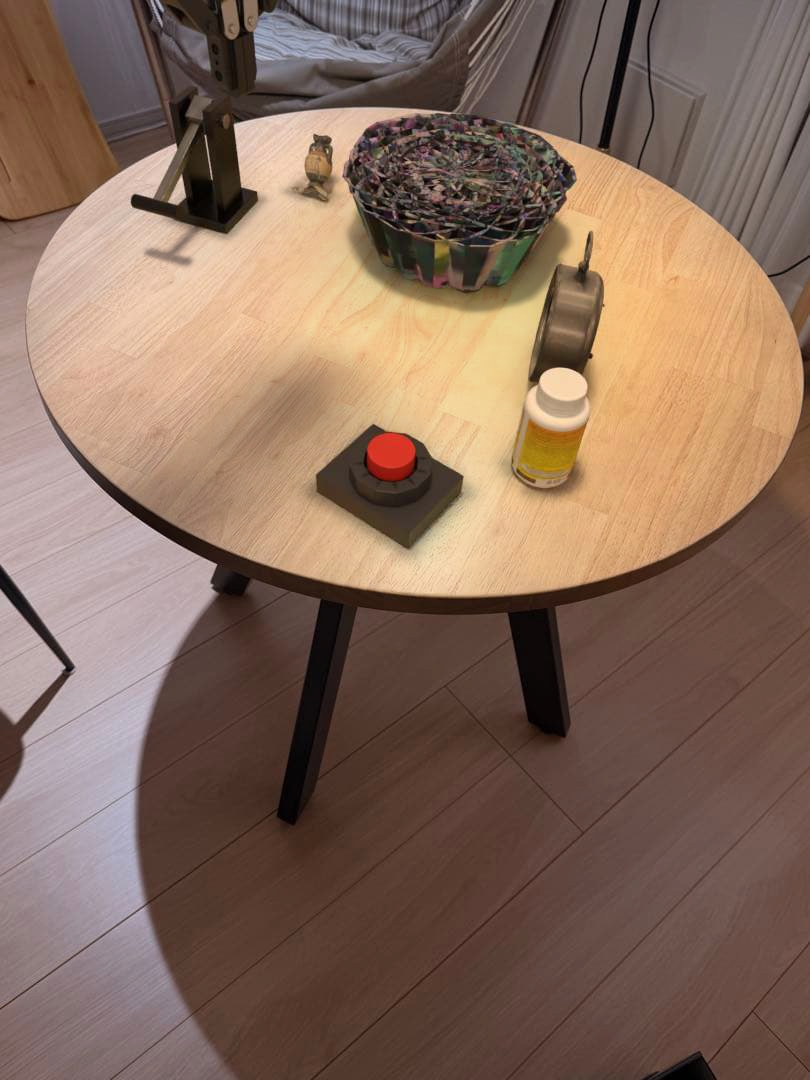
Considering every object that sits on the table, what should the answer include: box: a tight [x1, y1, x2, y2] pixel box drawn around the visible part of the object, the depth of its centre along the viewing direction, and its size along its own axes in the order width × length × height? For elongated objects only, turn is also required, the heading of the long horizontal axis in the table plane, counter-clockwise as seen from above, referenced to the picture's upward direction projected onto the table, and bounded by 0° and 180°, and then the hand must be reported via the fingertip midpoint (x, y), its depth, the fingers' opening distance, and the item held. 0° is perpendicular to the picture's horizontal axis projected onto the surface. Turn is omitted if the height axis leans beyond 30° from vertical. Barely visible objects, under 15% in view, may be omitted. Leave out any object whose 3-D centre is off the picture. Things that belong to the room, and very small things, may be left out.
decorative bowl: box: [341, 112, 578, 294], centre depth 90 cm, size 26×28×10 cm
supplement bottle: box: [511, 368, 591, 489], centre depth 68 cm, size 6×6×10 cm
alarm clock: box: [527, 230, 606, 384], centre depth 73 cm, size 11×5×16 cm, turn 168°
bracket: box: [168, 85, 259, 235], centre depth 89 cm, size 8×7×13 cm
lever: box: [130, 95, 214, 221], centre depth 85 cm, size 14×6×2 cm, turn 159°
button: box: [367, 433, 416, 482], centre depth 66 cm, size 4×4×2 cm
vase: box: [290, 133, 334, 201], centre depth 96 cm, size 5×5×6 cm
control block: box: [315, 423, 465, 549], centre depth 68 cm, size 10×8×4 cm
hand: (236, 91), depth 54 cm, fingers closed
